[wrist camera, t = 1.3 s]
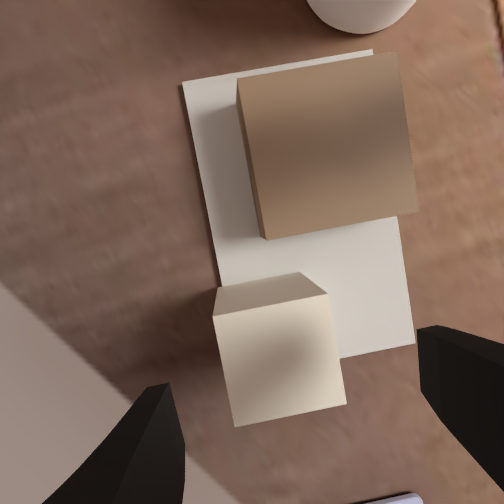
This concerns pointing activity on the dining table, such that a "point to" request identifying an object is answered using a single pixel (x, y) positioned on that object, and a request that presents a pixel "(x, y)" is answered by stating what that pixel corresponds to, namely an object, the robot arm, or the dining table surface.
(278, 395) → the cream block
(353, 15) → the can
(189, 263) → the dining table surface
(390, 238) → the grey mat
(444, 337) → the robot arm
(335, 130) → the brown block
